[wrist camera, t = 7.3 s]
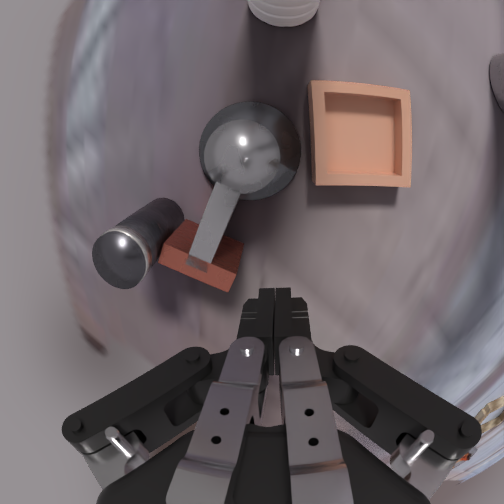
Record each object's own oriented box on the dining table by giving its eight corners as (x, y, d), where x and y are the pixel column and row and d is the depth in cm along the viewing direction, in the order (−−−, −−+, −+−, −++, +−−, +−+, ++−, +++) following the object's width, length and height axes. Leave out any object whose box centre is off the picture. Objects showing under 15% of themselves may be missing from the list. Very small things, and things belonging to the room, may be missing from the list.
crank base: (297, 100, 22) (298, 99, 21) (301, 196, 25) (302, 198, 24) (197, 108, 22) (194, 107, 21) (206, 200, 26) (204, 203, 25)
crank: (228, 112, 21) (214, 106, 16) (292, 139, 22) (299, 141, 17) (180, 235, 26) (158, 262, 21) (236, 259, 27) (228, 292, 22)
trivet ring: (526, 383, 39) (529, 388, 37) (499, 417, 46) (501, 422, 44) (485, 404, 41) (488, 411, 39) (456, 438, 48) (458, 444, 46)
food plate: (479, 448, 58) (481, 454, 55) (434, 474, 66) (435, 480, 63) (469, 441, 53) (472, 448, 50) (416, 471, 61) (417, 478, 58)
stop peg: (181, 195, 26) (135, 230, 17) (187, 238, 28) (150, 290, 19) (141, 199, 26) (85, 234, 17) (148, 240, 28) (101, 288, 19)
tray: (398, 93, 20) (409, 90, 18) (399, 182, 24) (410, 187, 21) (307, 85, 21) (311, 80, 19) (311, 180, 24) (315, 185, 22)
